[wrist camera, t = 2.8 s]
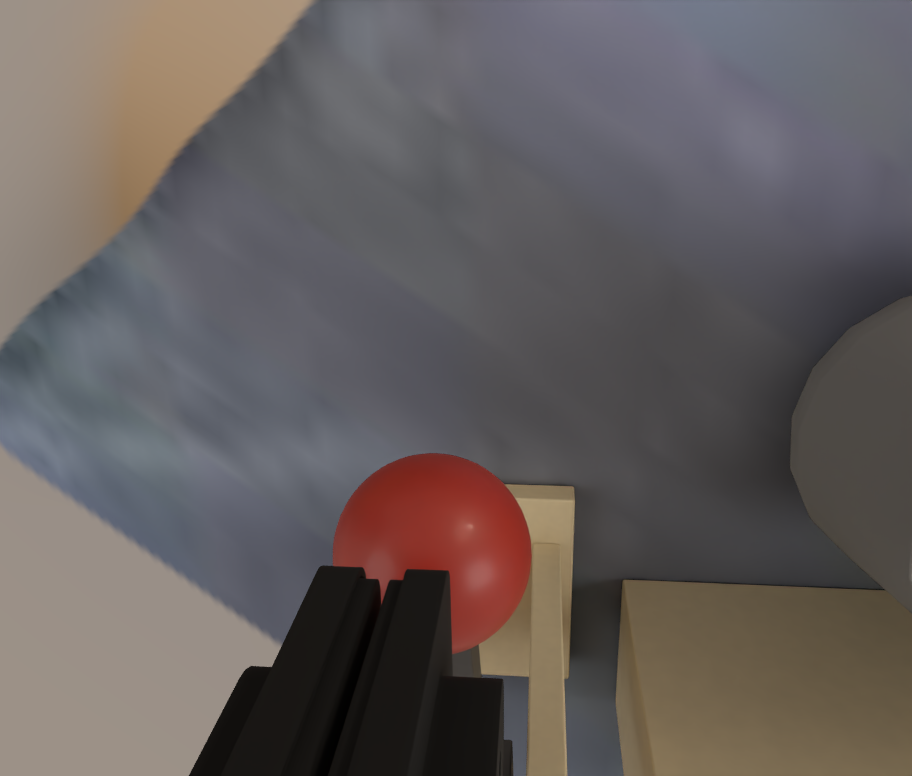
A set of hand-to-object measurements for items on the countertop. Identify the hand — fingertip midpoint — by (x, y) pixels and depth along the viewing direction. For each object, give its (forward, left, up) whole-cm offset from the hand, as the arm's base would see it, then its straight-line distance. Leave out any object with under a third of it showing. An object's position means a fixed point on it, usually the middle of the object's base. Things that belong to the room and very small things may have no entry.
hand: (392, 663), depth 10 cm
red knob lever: (+5, 0, -7) cm, 8 cm away
